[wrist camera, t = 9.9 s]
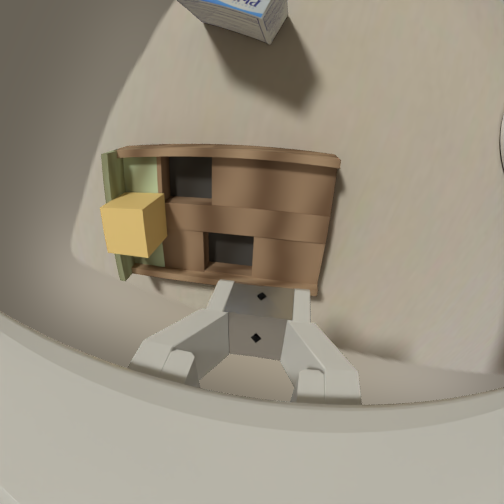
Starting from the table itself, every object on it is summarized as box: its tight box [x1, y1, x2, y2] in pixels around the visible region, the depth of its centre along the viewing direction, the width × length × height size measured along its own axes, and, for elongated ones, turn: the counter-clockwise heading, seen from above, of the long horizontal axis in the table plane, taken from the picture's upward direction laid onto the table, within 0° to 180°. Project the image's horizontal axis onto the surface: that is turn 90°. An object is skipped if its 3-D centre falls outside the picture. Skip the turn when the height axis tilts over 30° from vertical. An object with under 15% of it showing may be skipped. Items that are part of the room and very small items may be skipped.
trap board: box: [101, 144, 341, 296], centre depth 28 cm, size 23×15×5 cm, turn 87°
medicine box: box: [177, 0, 288, 44], centre depth 16 cm, size 8×4×9 cm, turn 64°
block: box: [100, 192, 167, 258], centre depth 27 cm, size 5×5×5 cm
